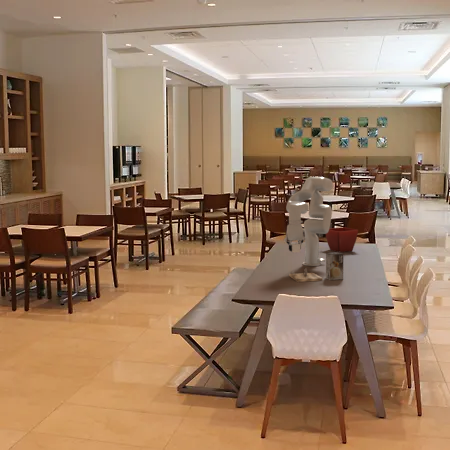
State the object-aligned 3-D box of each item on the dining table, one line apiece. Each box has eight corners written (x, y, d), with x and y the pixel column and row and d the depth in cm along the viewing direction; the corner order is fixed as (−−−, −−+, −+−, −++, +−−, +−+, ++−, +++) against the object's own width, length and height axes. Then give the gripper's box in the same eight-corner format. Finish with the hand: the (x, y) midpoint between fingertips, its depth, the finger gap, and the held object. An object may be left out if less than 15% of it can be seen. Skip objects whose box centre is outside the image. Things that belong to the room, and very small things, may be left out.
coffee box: (338, 277, 388) (339, 252, 386) (343, 279, 382) (344, 253, 380) (325, 278, 386) (325, 252, 384) (329, 280, 380) (330, 254, 377)
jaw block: (296, 250, 403) (296, 242, 402) (300, 252, 396) (300, 244, 395) (289, 250, 401) (289, 243, 401) (292, 252, 395) (292, 245, 394)
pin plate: (313, 275, 394) (313, 265, 394) (322, 280, 379) (322, 270, 378) (289, 276, 391) (289, 266, 390) (297, 281, 375) (297, 272, 375)
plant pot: (323, 249, 487) (324, 228, 485) (343, 247, 495) (344, 226, 493) (337, 253, 470) (338, 231, 468) (358, 251, 478) (358, 230, 476)
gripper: (305, 221, 401) (305, 248, 404) (280, 222, 397) (280, 250, 400) (309, 223, 394) (309, 251, 397) (283, 224, 390) (283, 252, 393)
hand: (294, 250), depth 399 cm, fingers closed on jaw block, 5 cm apart
